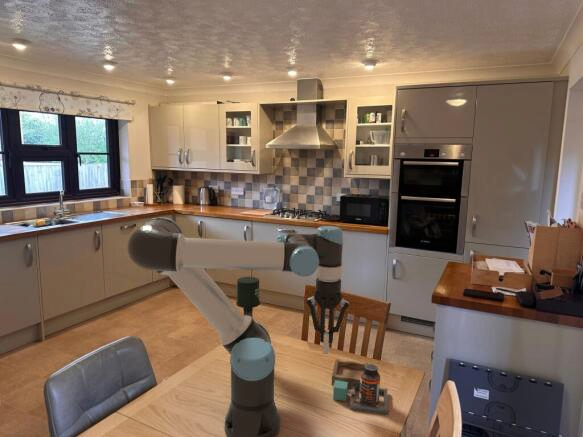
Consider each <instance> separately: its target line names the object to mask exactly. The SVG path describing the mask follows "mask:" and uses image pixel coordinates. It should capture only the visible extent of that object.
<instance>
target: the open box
mask: <svg viewBox="0 0 583 437" xmlns="http://www.w3.org/2000/svg"><path fill="white" fill-rule="evenodd" d="M366 364H369V363H368V362H361V361H354V360H344V359H336V358H335V360H334V365H333V370H332V374H331V385H333V386H334V383H335V380H337V381H344V382H348V387H349V388H352V384H353V385H360V378H361V373H362V371H364V367H365V365H366Z"/></svg>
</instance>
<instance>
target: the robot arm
mask: <svg viewBox="0 0 583 437" xmlns="http://www.w3.org/2000/svg"><path fill="white" fill-rule="evenodd" d="M343 233H344V232H343V229H342V228H341V227H339V226H333V225H322V226H319V227H318V228H317V231H316V233H284V234H282V233H281V234H279V235H277V237H276V241H263V240H262V241H261V240H259V241H258V240H239V239H238V240H237V239H220V238H219V239H218V238H199V237H186V236H184V234H183V231H182V229H181V227H180V225H179V224H178V223H177V222H176V221H174V220H172V219H170V218H168V217H155V218H151V219H149V220H148V221H146V222H144V223H142V225H140V226H139V227H138V228H136V229H134V231H133V232H132V233H131V235H130V236H129V239H128V240H127V254H128V256H129V258H130V260H131V261H132V262H133V263H134V264H135V265H136V266H138V267H139V268H141V269H144V270H147V271H152V272H153V271H154V272H157V273H158V274H159V275H166V276H168V277H169V278H170V279H171V281H173V283H174V284H175V286H177V287H178V289H179V290H180V291H181V292H182V293H183V294H184V295H185V296H186V297H187V299H188V300H189V301H190V302H191V303H192V305H194V307H195V308H196V309H197V310H198V311H199V312H200V314H201V315H202V316H203V317H204V318H205V319H206V320H207V321H208V323H209V324H210V325H211V326H212V327H213V328H214V330H215V331H216V332H217V333H218V334H219V335H220V342H219V343H220V345H222V347H224V349H225V350H226V351H227V353H229V355H230V359H229V363H230V365H229V366H230V404H229V407H228V409H227V413H226V415H225V419H224V433H225V435H226V437H277V436H278V434H279V432H280V429H281V416H280V414H279V410H278V409H277V405H276V402H275V364H276V354H275V349H274V347H273V345H272V340H271V336H270V334H269V331H268V330H267V328H266V327H265V326H264V325H263V324H261V323H260V322H257V321H255V320H254V319H253V316H252V317H251V316H249V315H244V314H242V312H241V311H240V310H239V308H238V307H237V305H236V304H234V303H233V302H232V300H230V298H229V297H228V296H227V295H226V293H224V291H223V290H222V289H221V288H220V287H219V285H217V283H216V282H215V281H214V279H213V278H212V277H211V276H210V275H209V274H208V273H207V271H206V270H205V269H209V270H210V269H211V270H233V271H234V270H239V271H265V272H288V273H289V272H290V273H294V274H295V275H297V276H299V277H303V278H304V277H310V276H312V275H314V273H316V274H315V277H316V279H315V292H314V294H313V296H311V297H307V300H306V304H307V306H308V307H309V311H310V315H311V319H312V324H313V328H314V331H316V332H319V337H320V338H319V342H320V343H323V352H322V354H323V355H329V351H330V344H333V341H334V334H335V333H339V331H340V328H341V325H342V321H343V318H344V315H345V312H346V310H347V309H348V307H349V306H350V302H349V300H347V299H344V298H343V295H342V293H341V292H342V280H341V279H342V273H343V271H342V268H343V246H344V240H343V239H344V238H343V236H344V234H343ZM316 303H317V304H318V306H319V308H320V323H319V318H318V314H317V308H316ZM339 304H340V311H339V314H338V317H337V319H336V320H337V321H336V325H335V326H334V322H335V319H334V318H335V317H334V316H335V309H336V308H337V307H338V305H339ZM235 305H236V306H235ZM326 309H328V310H329V311H328V313H329V314H328V318H329V319H328V330H327V329H326Z"/></svg>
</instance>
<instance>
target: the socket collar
mask: <svg viewBox="0 0 583 437" xmlns="http://www.w3.org/2000/svg"><path fill="white" fill-rule="evenodd" d="M351 390H355V392H360V385H353V384H352V387H351ZM355 395H356V394H355ZM355 395H354V394H350V400H349V410H353V411H360V412H361V411H362V412H367V413H372V414H373V413H374V414H379V415H380V414H381V415H387V416H388V414H389V402H388V388H383V387H382V388H381V387H380V390H379V395H382V396H383V406H377V405H374V406H371V405H364V404H363V403H355Z"/></svg>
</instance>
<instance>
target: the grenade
mask: <svg viewBox="0 0 583 437" xmlns="http://www.w3.org/2000/svg"><path fill="white" fill-rule="evenodd" d="M260 304H261V300H260V279H259V278H257V277H254V276H242V277H240V278H238V279H237V280H236V301H235V305H236V307H237V308H242V309H243V310H242V311H243V315H249V316H251V317H252V318H253V310H254V308H257V307H259V306H260Z"/></svg>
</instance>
